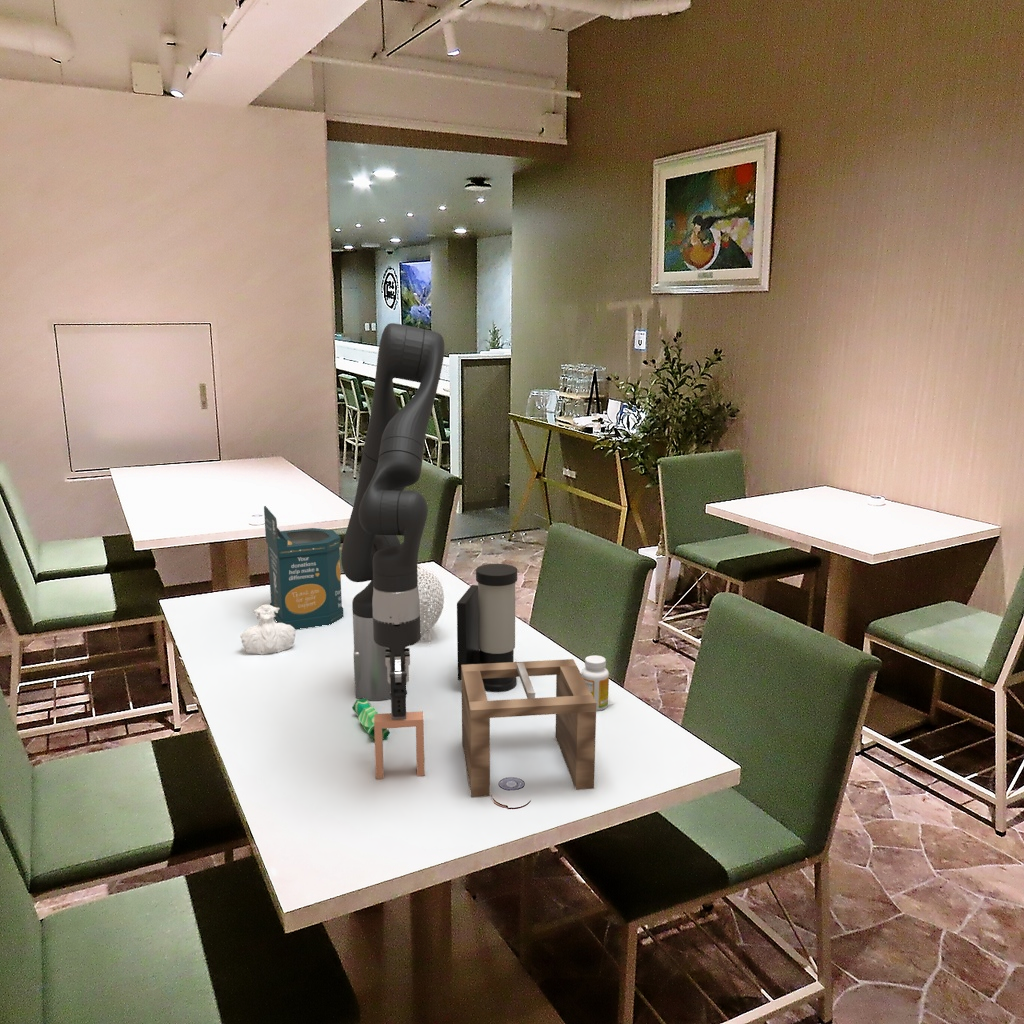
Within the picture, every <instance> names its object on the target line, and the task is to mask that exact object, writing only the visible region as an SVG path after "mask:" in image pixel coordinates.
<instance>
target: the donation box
mask: <svg viewBox="0 0 1024 1024" xmlns="http://www.w3.org/2000/svg"><path fill="white" fill-rule="evenodd" d="M263 512H264V514H263V515H264V528H265V529H264V532H265V533H264V534H265V543H266V544H267V559H268V572H269V573H268V574H269V576H268V577H269V592H270V602H269V605H271V606H273V607H276V608H280V609H279V610H278V613H276V612H275V615H276V617H274V618H275V619H274V618H273V619H274V621H275V620H276V621H277V622H276V621H275V622H276V623H284V624H286V625H291V626H292V627H293V628H294V629H299V630H301V629H300V628H306V629H309V628H308V627H312V628H316V627H315V626H319V627H323V626H322V625H327V626H332V625H333V624H335V623H337V622H338V621H340V620H341V619H343V618H344V615H345V614H344V608H343V605H342V604H343V603H342V602H343V601H342V580H341V579H342V577H341V556H340V555H341V554H340V553H341V551H340V548H341V546H342V543H341V536H340V535H339V534H338V533H337V532H336V531H334V530H333V529H326V528H325V529H324V528H315V527H308V528H298V529H291V530H290V529H289V530H280V529H279V528H278V521H277V517H276V516H275V515H274V514H273V513H272V512H271V510H270V509H269V508H268V507H267V505H264V506H263ZM342 617H343V618H342ZM337 620H338V621H337ZM334 622H335V623H334ZM332 623H333V624H332ZM329 624H330V625H329ZM331 624H332V625H331Z"/></svg>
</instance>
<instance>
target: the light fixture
mask: <svg viewBox="0 0 1024 1024" xmlns="http://www.w3.org/2000/svg"><path fill="white" fill-rule="evenodd" d="M475 581H476V583H477V585H475V584H472V585H470V586H469V588H468V589H467V590H466V591H465V593H463V595H462V596H461V597H460V598H459V600H458V601H457V602H456V632H457V633H456V634H457V635H456V637H457V638H456V639H457V640H456V641H457V643H456V645H457V648H456V649H457V651H456V652H457V680H458V681H461V665H468V664H488V663H507V662H515V660H514V653H515V652H514V651H515V648H516V582H518V567H516V566H514V565H511V564H506V563H489V564H488V563H487V564H482V565H480V566H478V567H476V568H475ZM517 678H518V677H506V678H487V679H482V680H483V684H484V688H485V692H491V693H501V692H502V693H503V692H509V691H511V690H512V689H515V687H516V686H517V681H518V680H517Z"/></svg>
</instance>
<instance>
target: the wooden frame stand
mask: <svg viewBox="0 0 1024 1024" xmlns="http://www.w3.org/2000/svg"><path fill="white" fill-rule="evenodd" d="M537 676H538V677H540V676H542V677H543V676H556V683H555V684H556V686H555V696H549V697H536V692H535V689H534V686H533V684H532V681H531V678H530V677H537ZM506 677H516V678H519V679H520V682H521V684H522V688H523V690H524V693H525V696H526V698H517V699H516V698H515V699H513V698H511V699H499V700H497V699H496V700H488V697H487V693H486V692H487V691H485V688H484V684H483V680H482V679H487V678H506ZM460 682H461V745H462V749H463V756H464V757H463V758H464V762H465V768H466V769H465V770H466V774H467V780H468V785H469V791H470V792H469V793H470V797H471V798H479V797H489V796H491V724H490V723H491V720H490V719H493V718H494V719H495V718H511V717H514V718H515V717H527V716H528V717H529V716H546V715H555V735H554V736H555V737H554V738H555V739H556V742H557V745H558V747H559V750H560V752H561V756H562V757H563V760H564V762H565V765H566V767H567V771H568V773H569V776H570V778H571V781H572V783H573V785H574V788H575V790H577V791H579V790H589V789H595V774H596V773H595V771H596V770H595V769H596V767H595V766H596V735H597V734H596V731H597V711H596V701H595V699H594V697H593V696H592V694H591V692H590V690H589V688H588V686H587V684H586V682H585V680H584V679H583V677H582V675H581V671H580V669H579V667H578V665H577V663H576V662H575V660H574V659H573V658H571V659H570V658H568V659H549V660H529V661H514V662H507V663H488V664H468V665H461V680H460Z"/></svg>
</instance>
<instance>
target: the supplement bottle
mask: <svg viewBox="0 0 1024 1024" xmlns="http://www.w3.org/2000/svg"><path fill="white" fill-rule="evenodd" d="M606 661H607V660H606V658H605V657H604V656H601V655H588V656H586V657H585V658H584V667H583V668H582V669H581V671H580V673H581V675H582V677H583V679H584V680H585V682H586V684H587V686H588V688H589V690H590V692H591V694H592V696H593V697H594V699H595V701H596V712H597V711H601V710H602V711H603V710H605V709H606V708H608V706H609V685H610V684H609V682H610V672H609V670H608V669H607V668H606V667H607V666H606V665H607V664H606V663H607V662H606Z"/></svg>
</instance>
